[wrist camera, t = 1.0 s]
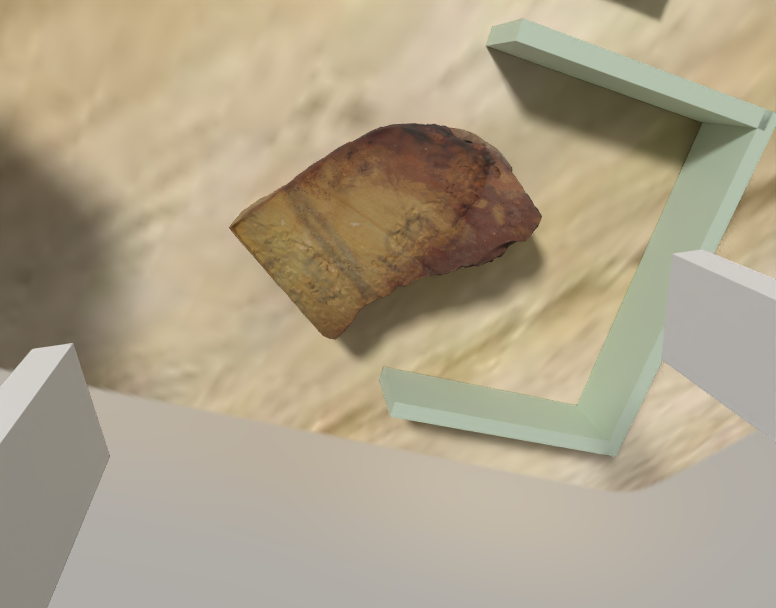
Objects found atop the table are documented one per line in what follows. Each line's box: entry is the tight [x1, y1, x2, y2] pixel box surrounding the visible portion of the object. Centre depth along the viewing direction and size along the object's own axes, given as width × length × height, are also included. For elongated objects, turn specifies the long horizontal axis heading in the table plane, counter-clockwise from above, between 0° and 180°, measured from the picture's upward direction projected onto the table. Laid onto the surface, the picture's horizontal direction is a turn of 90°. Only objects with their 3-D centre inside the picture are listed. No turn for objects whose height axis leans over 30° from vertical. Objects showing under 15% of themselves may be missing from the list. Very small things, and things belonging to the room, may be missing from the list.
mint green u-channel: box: [379, 18, 776, 457], centre depth 35 cm, size 16×22×4 cm
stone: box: [229, 123, 542, 339], centre depth 32 cm, size 15×9×5 cm, turn 115°
